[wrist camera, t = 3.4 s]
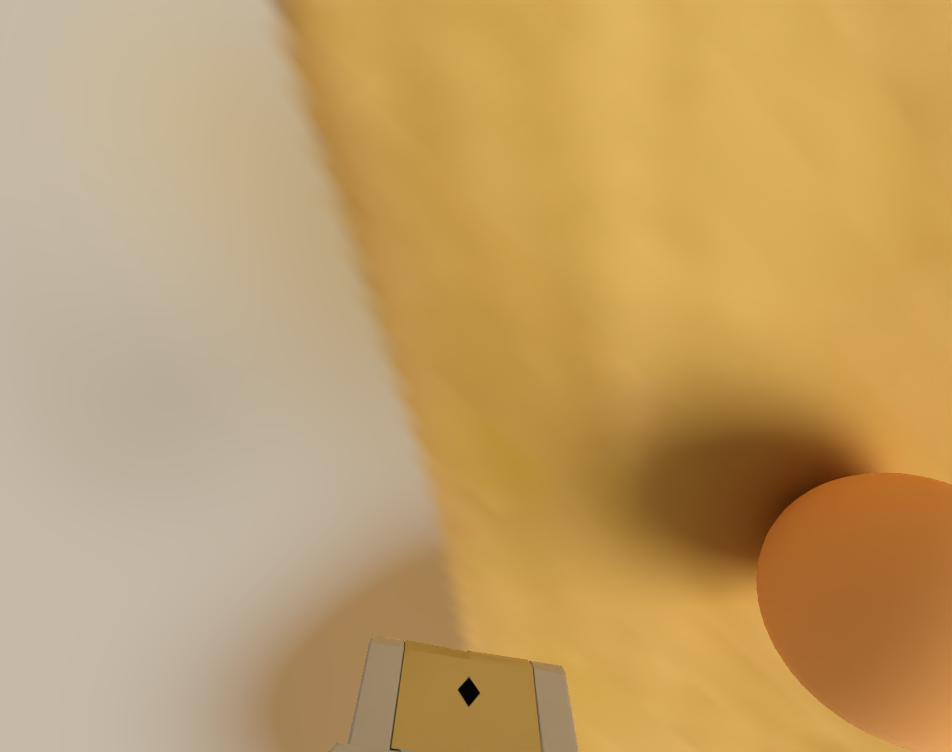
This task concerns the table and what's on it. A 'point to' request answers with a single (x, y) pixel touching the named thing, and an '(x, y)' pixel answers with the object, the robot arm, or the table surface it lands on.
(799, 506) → the ball
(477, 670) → the robot arm
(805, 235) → the table surface
